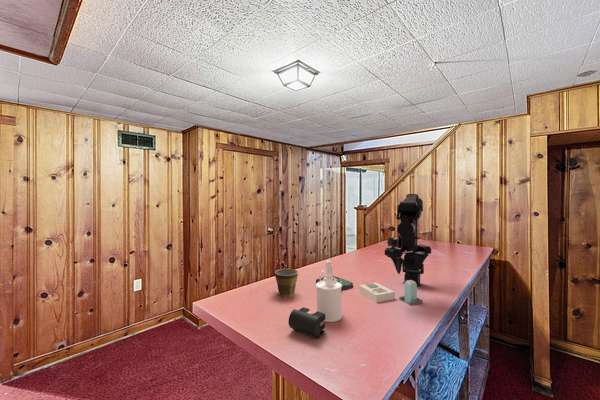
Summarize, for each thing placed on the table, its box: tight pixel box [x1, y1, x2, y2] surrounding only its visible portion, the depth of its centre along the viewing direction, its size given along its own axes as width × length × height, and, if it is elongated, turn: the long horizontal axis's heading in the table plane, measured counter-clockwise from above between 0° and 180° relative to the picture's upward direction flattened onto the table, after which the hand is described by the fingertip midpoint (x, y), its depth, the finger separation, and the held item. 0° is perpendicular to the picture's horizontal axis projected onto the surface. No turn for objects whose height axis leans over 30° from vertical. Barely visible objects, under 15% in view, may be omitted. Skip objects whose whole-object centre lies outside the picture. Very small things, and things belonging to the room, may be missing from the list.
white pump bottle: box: [315, 260, 343, 323], centre depth 98 cm, size 10×9×20 cm
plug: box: [404, 280, 418, 302], centre depth 109 cm, size 3×3×8 cm
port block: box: [358, 282, 396, 304], centre depth 115 cm, size 9×12×4 cm
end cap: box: [288, 306, 327, 339], centre depth 86 cm, size 10×7×7 cm
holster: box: [398, 295, 423, 306], centre depth 109 cm, size 6×6×2 cm
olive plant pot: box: [273, 268, 299, 298], centre depth 119 cm, size 13×10×10 cm
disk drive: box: [315, 275, 354, 292], centre depth 129 cm, size 10×3×15 cm
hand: (408, 272), depth 109 cm, fingers open, 9 cm apart
